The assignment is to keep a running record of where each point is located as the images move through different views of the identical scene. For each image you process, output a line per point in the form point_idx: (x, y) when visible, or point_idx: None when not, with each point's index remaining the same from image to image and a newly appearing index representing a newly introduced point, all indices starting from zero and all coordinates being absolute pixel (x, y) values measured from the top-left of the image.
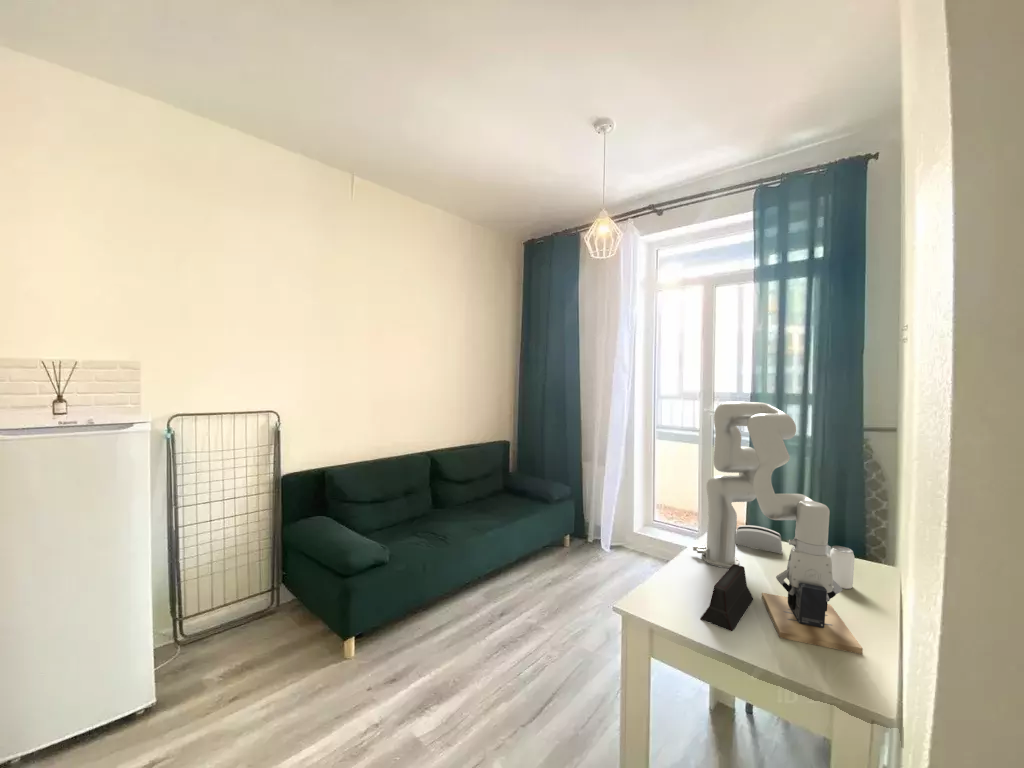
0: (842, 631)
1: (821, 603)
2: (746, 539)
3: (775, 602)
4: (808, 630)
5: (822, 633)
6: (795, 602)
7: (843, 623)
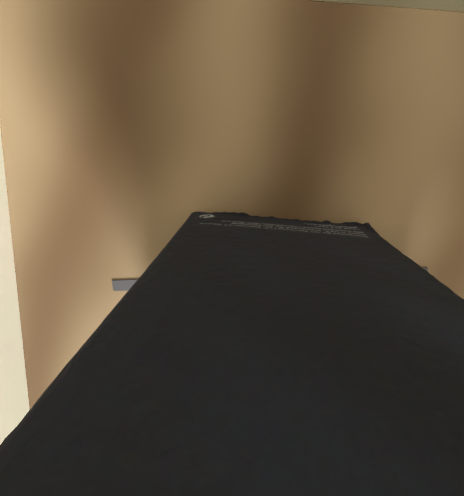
0: (67, 214)
1: (189, 298)
2: None
3: None
4: (333, 142)
5: (233, 131)
6: None
7: (28, 329)
